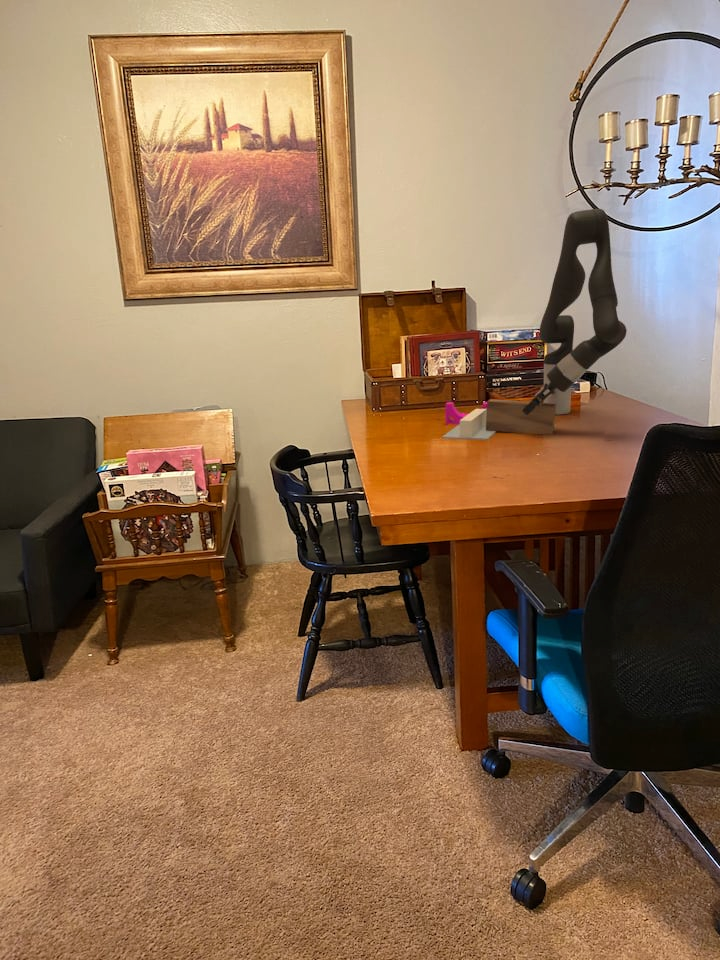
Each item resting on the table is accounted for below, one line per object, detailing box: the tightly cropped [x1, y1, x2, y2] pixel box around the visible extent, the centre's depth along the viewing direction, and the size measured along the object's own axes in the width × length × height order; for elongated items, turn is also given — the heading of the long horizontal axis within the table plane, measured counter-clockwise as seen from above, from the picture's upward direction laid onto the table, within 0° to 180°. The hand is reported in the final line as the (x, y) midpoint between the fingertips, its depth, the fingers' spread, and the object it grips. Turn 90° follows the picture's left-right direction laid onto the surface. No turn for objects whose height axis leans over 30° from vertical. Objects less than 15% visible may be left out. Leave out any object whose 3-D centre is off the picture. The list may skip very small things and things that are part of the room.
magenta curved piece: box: [445, 401, 487, 426], centre depth 230 cm, size 15×6×8 cm, turn 73°
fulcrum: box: [441, 408, 498, 441], centre depth 216 cm, size 22×14×6 cm, turn 157°
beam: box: [486, 398, 556, 435], centre depth 211 cm, size 4×20×9 cm, turn 67°
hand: (527, 410), depth 210 cm, fingers open, 8 cm apart
